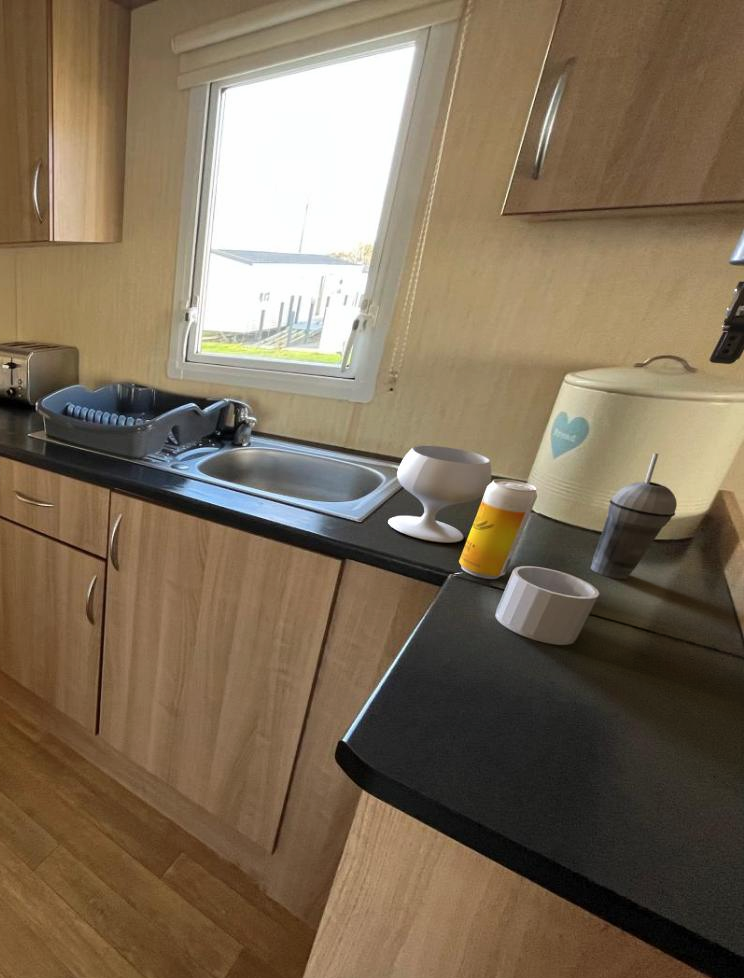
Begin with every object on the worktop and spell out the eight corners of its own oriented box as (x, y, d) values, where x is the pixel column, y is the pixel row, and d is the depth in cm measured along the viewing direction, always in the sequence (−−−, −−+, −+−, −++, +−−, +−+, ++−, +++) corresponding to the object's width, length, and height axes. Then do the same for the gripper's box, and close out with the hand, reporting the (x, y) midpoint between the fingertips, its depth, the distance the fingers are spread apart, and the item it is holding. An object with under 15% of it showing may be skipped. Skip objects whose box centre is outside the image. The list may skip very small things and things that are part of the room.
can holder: (582, 630, 74) (605, 585, 71) (567, 653, 69) (591, 605, 66) (505, 602, 80) (523, 560, 77) (486, 622, 75) (505, 577, 73)
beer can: (461, 559, 93) (493, 475, 87) (506, 572, 89) (542, 485, 83) (453, 570, 89) (486, 483, 83) (499, 584, 85) (537, 494, 79)
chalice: (431, 550, 96) (460, 468, 90) (365, 520, 108) (386, 446, 102) (487, 541, 100) (518, 463, 94) (417, 513, 112) (440, 442, 106)
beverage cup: (637, 588, 86) (703, 465, 78) (576, 570, 91) (631, 453, 83) (641, 574, 90) (703, 456, 82) (582, 558, 95) (635, 446, 87)
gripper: (850, 212, 59) (766, 368, 65) (844, 224, 67) (769, 362, 73) (743, 217, 64) (675, 361, 71) (749, 228, 72) (688, 355, 79)
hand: (723, 361), depth 72 cm, fingers open, 8 cm apart
